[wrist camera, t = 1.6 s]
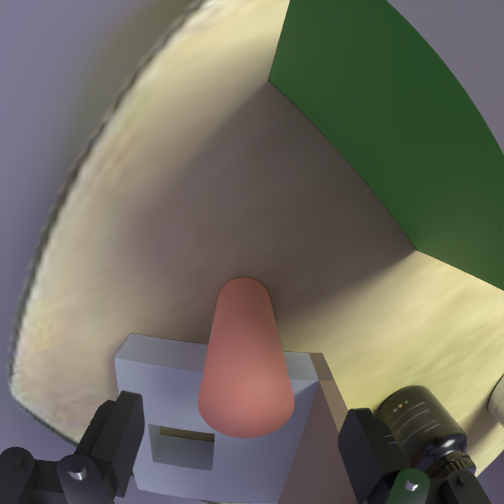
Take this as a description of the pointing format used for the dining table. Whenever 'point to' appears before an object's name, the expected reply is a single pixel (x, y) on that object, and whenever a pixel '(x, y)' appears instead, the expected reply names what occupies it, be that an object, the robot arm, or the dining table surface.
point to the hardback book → (411, 112)
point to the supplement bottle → (426, 432)
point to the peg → (245, 365)
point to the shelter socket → (231, 448)
